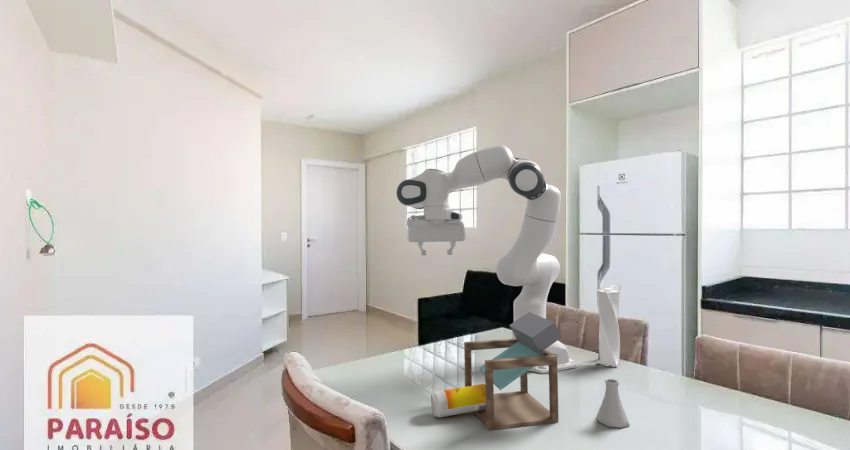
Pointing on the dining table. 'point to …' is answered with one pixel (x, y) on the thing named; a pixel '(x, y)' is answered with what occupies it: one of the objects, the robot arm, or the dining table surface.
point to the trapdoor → (525, 345)
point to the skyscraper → (608, 326)
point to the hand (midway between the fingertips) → (436, 254)
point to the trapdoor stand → (513, 405)
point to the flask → (612, 407)
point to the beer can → (458, 400)
